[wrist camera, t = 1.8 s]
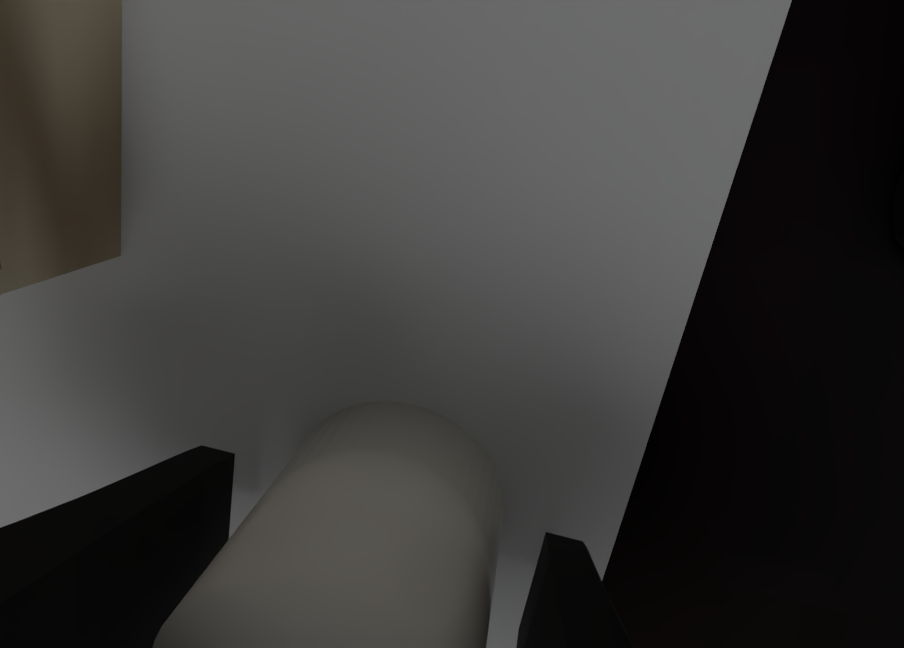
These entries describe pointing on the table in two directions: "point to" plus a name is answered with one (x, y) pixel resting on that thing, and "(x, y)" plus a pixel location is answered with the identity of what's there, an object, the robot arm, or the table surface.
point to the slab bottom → (59, 137)
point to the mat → (394, 245)
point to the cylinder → (358, 544)
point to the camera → (899, 211)
